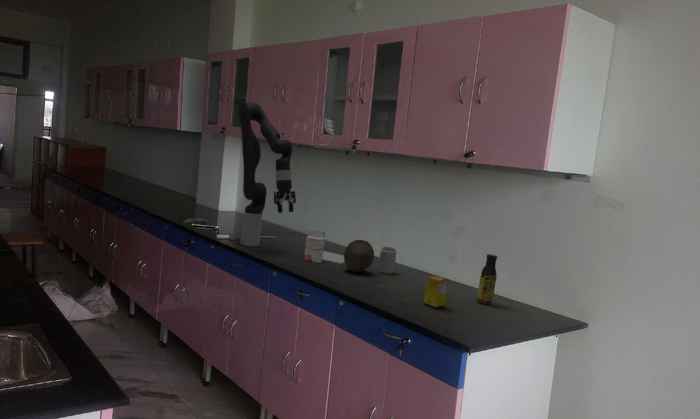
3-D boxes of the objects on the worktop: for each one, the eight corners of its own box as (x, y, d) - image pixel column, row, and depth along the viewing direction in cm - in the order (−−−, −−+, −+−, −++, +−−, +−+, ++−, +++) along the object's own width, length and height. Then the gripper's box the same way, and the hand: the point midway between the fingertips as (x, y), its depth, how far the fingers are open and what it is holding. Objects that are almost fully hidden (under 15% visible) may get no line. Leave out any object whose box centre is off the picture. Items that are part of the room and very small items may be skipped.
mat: (303, 255, 274) (304, 254, 274) (324, 252, 289) (324, 251, 289) (339, 263, 263) (339, 262, 262) (359, 260, 278) (359, 259, 278)
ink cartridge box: (303, 260, 260) (306, 230, 259) (305, 259, 265) (308, 229, 264) (320, 263, 260) (324, 232, 258) (322, 261, 265) (325, 231, 263)
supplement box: (432, 303, 208) (436, 275, 207) (445, 307, 204) (448, 279, 203) (422, 304, 204) (426, 276, 203) (435, 309, 200) (438, 280, 199)
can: (382, 269, 260) (385, 245, 259) (396, 273, 256) (399, 248, 255) (375, 271, 253) (378, 246, 252) (389, 275, 250) (392, 249, 248)
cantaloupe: (336, 271, 244) (340, 239, 243) (349, 267, 257) (353, 236, 256) (365, 277, 239) (369, 244, 237) (377, 273, 251) (380, 241, 250)
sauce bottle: (481, 305, 213) (488, 255, 211) (473, 300, 219) (480, 252, 217) (495, 305, 215) (502, 256, 213) (487, 301, 221) (494, 253, 219)
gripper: (286, 180, 276) (288, 212, 276) (268, 180, 264) (270, 213, 264) (298, 179, 272) (300, 211, 272) (280, 179, 260) (282, 212, 260)
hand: (285, 212), depth 268 cm, fingers open, 8 cm apart
